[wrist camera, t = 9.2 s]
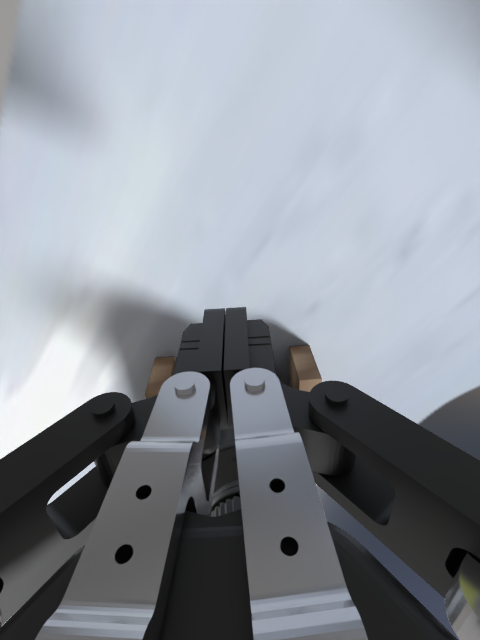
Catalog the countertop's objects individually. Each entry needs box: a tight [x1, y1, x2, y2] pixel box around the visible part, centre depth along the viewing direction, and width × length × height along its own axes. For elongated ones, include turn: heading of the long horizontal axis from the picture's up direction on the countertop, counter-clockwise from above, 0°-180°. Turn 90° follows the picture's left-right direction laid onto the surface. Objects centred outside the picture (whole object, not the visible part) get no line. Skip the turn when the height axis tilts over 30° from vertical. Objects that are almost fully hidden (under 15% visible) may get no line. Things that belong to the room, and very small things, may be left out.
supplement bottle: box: [211, 415, 241, 517], centre depth 24 cm, size 7×7×12 cm
